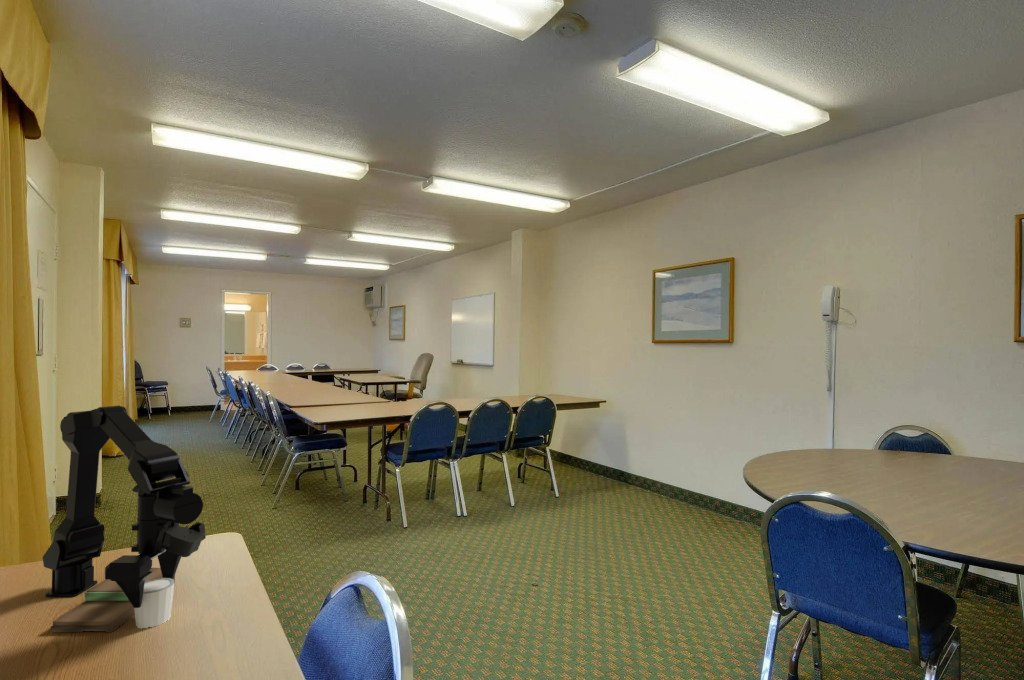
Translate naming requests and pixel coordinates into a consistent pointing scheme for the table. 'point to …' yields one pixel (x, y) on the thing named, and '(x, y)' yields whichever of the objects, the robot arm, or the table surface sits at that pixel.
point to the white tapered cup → (155, 603)
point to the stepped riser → (101, 608)
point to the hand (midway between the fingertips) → (153, 595)
